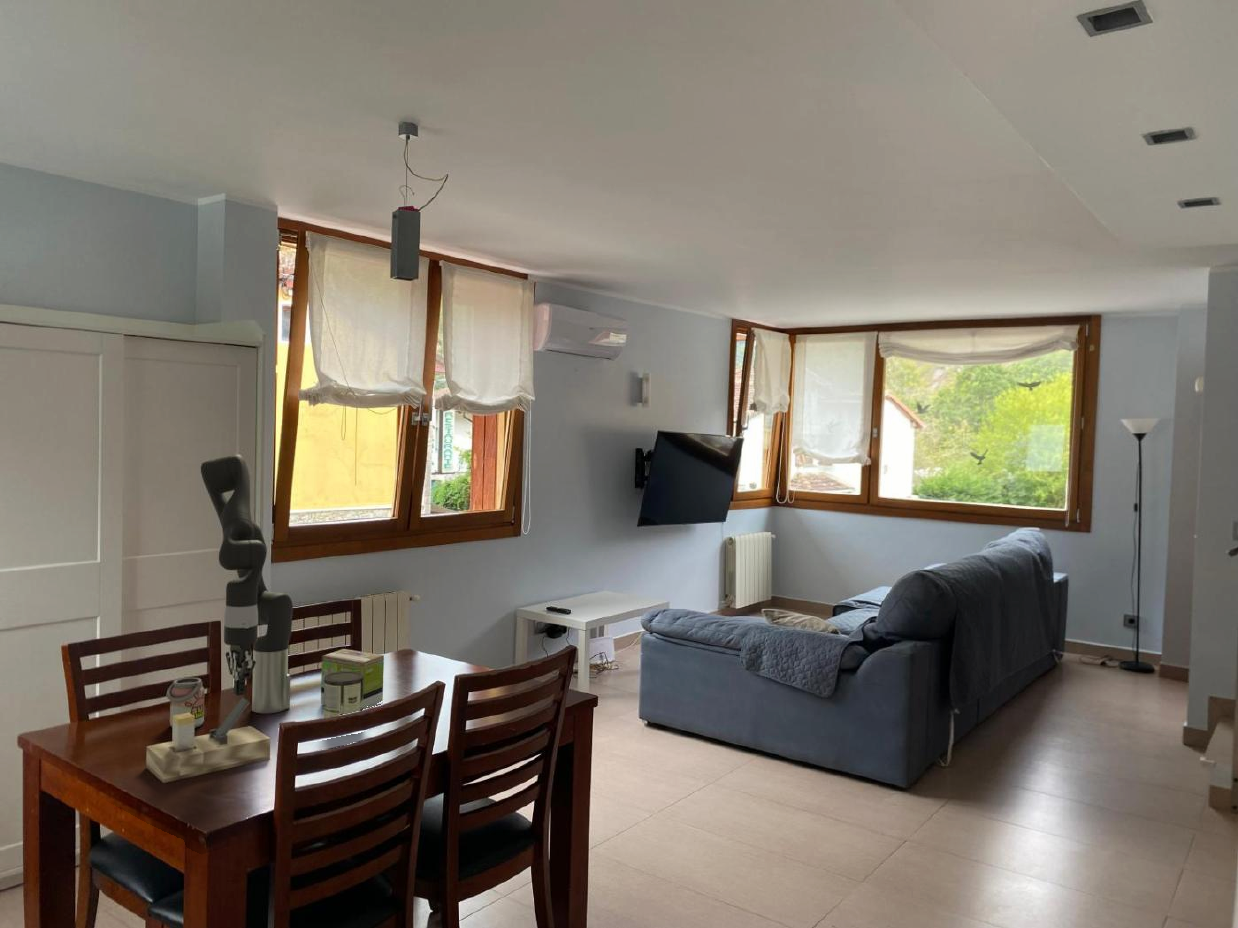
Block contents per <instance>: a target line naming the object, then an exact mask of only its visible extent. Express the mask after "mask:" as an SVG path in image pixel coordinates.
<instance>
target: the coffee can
mask: <svg viewBox="0 0 1238 928" xmlns="http://www.w3.org/2000/svg"><path fill="white" fill-rule="evenodd" d="M363 679H364V675H363V674H362V673H358V672H336V673H331V674H328V675H326V676H325V677H324V705H323V719H324V718H329V717H335V716H339V715H343V714H348V713H352V712H356V711H362V710H363Z"/></svg>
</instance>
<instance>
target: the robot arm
mask: <svg viewBox="0 0 1238 928" xmlns="http://www.w3.org/2000/svg"><path fill="white" fill-rule="evenodd" d="M200 474H201V478H202V480H203V483H204V486H205V488H206V491H207V493H208V495H209V497H210V500H211V502H212V505H213V507H214V509H215V512H216V514H217V517H218V520H219V522H220V526H221V530H222V535H223V537H222V543H221V546H220V549H219V552H218V562H219V565H220V566H221V567H222V569H224V570H226V571H236V573H237V576H238V578H236V579H232V580H230V581H228V582H227V584H226V586H225V587H226V588H225V609H224V619H223V620H224V621H223V622H224V623H223V624H224V625H223V643H224V645H227V646H229V651H226V652H225V658H226V662H227V666H228V672H229V675H231V676H232V679H233V695H235V696H237V697H238V696H243V695H246V682H247V681H246V680H247V679H250V678H251V676H252V692H251V693H252V695H251V696H252V697H251V698H252V700H251V701H252V702H251V710H252V712H254V713H257V714H274V713H279V712H282V711H285V710H287V709H290V708H291V707H290V706H291V674H289V673H288V669H289V663H288V662H289V642H290V639H291V636H292V626H293V615H294V608H293V607H294V605H293V601H292V598H291V597H290V595H289V594H287V593H284V592H276V591H269V590H268V589H267V587H266V583H265V581H264V578H263V570H264V566H265V562H266V559H267V555H268V548H267V544H266V541H265V539H264V535H263V532H262V529H261V527H260V526H259V525H258V524H257V523H256V522H255V521H254V520H253V519H252V514H251V480H250V479H251V477H250V472H249V468H248V465H247V462H246V459H244V457H243V455H240V454H238V453H237V454H236V453H235V454H229V455H226V456H225V455H224V456H222V457H218V458H212V459H210V460H206V461H203V462H202V463H201V465H200ZM232 491H233V493H232V494H231V495H230V498H229V499H228V498H226V496H225V493H228V492H232ZM260 624H261V625H267V627H266V633H265V635H261V636H258V634H259V633H258V632H259V625H260ZM252 645H253V648H252V649H253V650H252V649H251V646H252ZM252 655H253V656H252Z"/></svg>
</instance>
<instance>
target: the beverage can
mask: <svg viewBox="0 0 1238 928" xmlns="http://www.w3.org/2000/svg"><path fill="white" fill-rule="evenodd" d="M203 685H204V681H202V679H201V678H199V677H184V678H183V677H182V678H179V679H176V678H175V679H174V680H173V682H172V684H171V685H170V686H169V687H168V688H167V692H166V694H165V695H166V698H167V700H169V725H170V727H171V728H172V729H173V715H179V714H184V713H190V714H192V715H193V716H195V724H194V729H196V728H198V727H201V726H202V724H203V723H204V721H205V688H204V686H203Z"/></svg>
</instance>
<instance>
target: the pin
mask: <svg viewBox="0 0 1238 928" xmlns="http://www.w3.org/2000/svg"><path fill="white" fill-rule="evenodd" d="M194 724H195V716H193V715H192V714H190V713H184V714H179V715H173V728H172V733H171V734H172V736H171V737H172V751H173V752H175V753H178V752H183V751H187V750H192V749H194V737H195V728H194Z"/></svg>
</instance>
